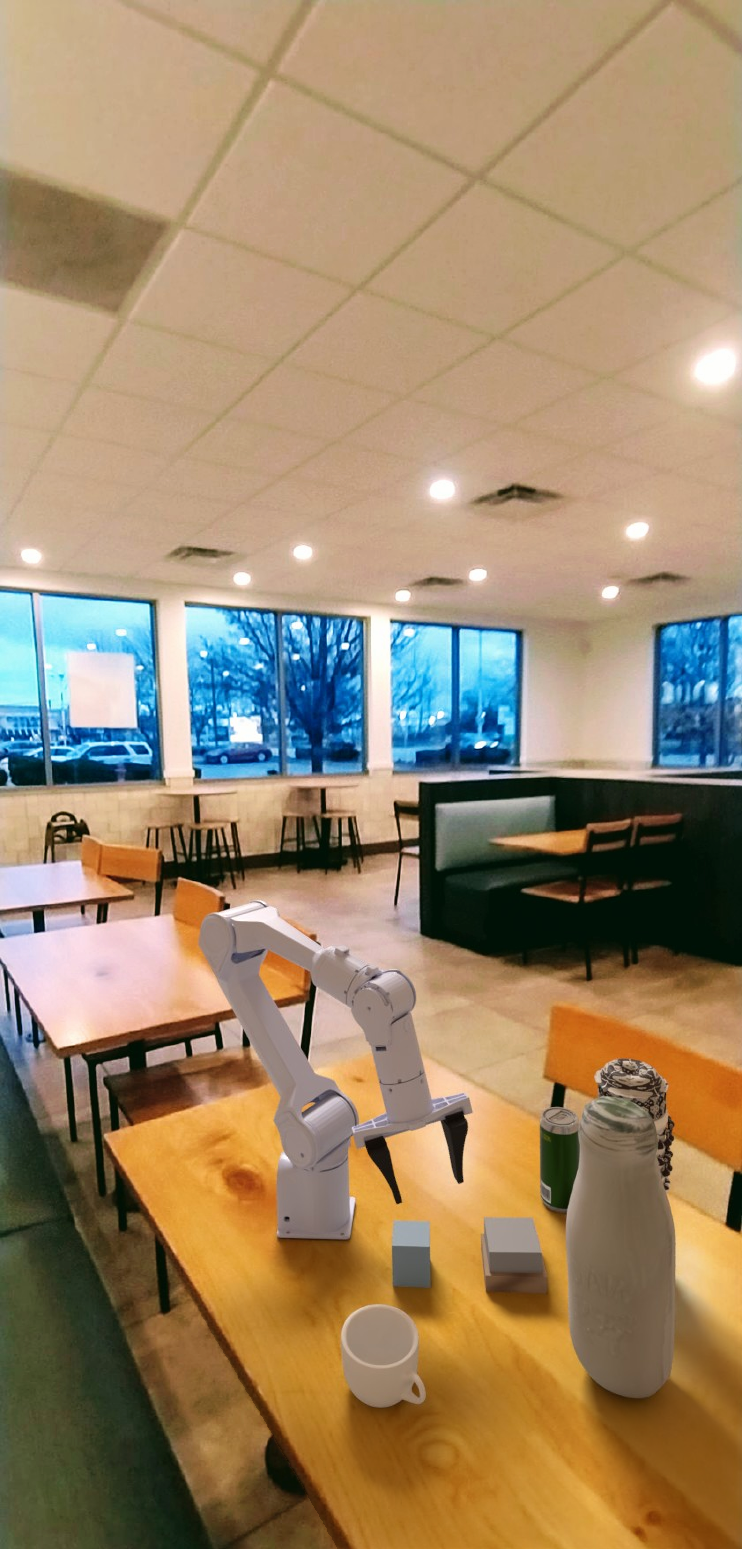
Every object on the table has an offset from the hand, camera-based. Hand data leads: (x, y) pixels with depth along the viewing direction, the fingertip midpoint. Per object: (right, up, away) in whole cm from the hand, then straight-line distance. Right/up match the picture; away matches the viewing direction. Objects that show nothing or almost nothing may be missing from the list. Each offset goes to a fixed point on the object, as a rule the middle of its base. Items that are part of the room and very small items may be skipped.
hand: (428, 1189), depth 87 cm
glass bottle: (+18, -11, -14) cm, 25 cm away
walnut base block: (+10, -10, 0) cm, 14 cm away
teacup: (-5, -11, -15) cm, 20 cm away
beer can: (+19, -9, +13) cm, 25 cm away
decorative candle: (+24, -10, -1) cm, 26 cm away
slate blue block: (-2, -10, 0) cm, 10 cm away
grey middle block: (+10, -8, 0) cm, 13 cm away
